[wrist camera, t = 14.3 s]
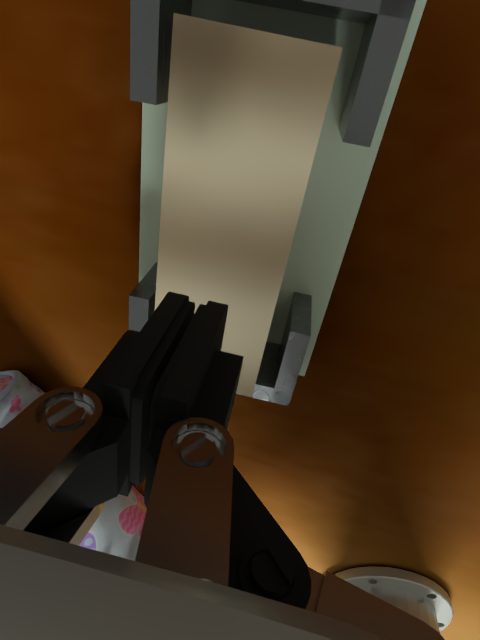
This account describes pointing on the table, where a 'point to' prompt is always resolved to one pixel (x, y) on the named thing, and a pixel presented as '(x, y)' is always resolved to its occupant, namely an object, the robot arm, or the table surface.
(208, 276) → the beige long block
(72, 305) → the table surface
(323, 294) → the base board
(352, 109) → the end caps
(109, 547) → the pencil case
